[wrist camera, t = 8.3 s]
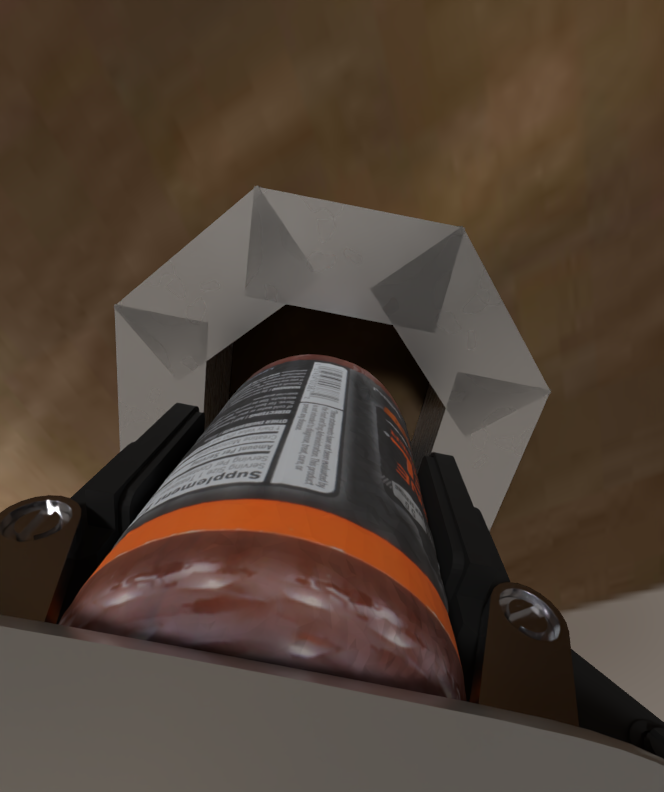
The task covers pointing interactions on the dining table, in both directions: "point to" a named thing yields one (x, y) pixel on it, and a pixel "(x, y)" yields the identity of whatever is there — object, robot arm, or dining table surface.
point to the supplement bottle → (289, 539)
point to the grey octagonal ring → (345, 295)
